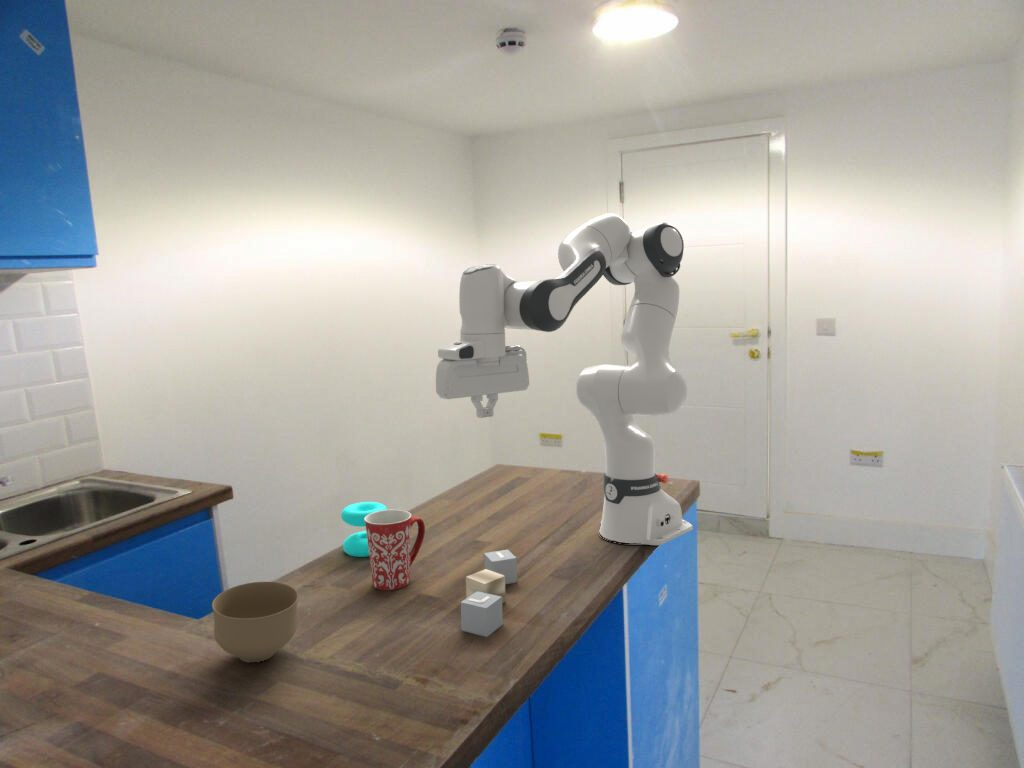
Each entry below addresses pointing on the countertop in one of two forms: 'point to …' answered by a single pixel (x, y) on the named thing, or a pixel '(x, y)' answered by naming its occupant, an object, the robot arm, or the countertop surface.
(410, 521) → the mug
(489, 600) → the grey block
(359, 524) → the donuts
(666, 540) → the robot arm
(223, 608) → the bowl
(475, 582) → the maple block
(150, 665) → the countertop surface
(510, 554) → the grey block
